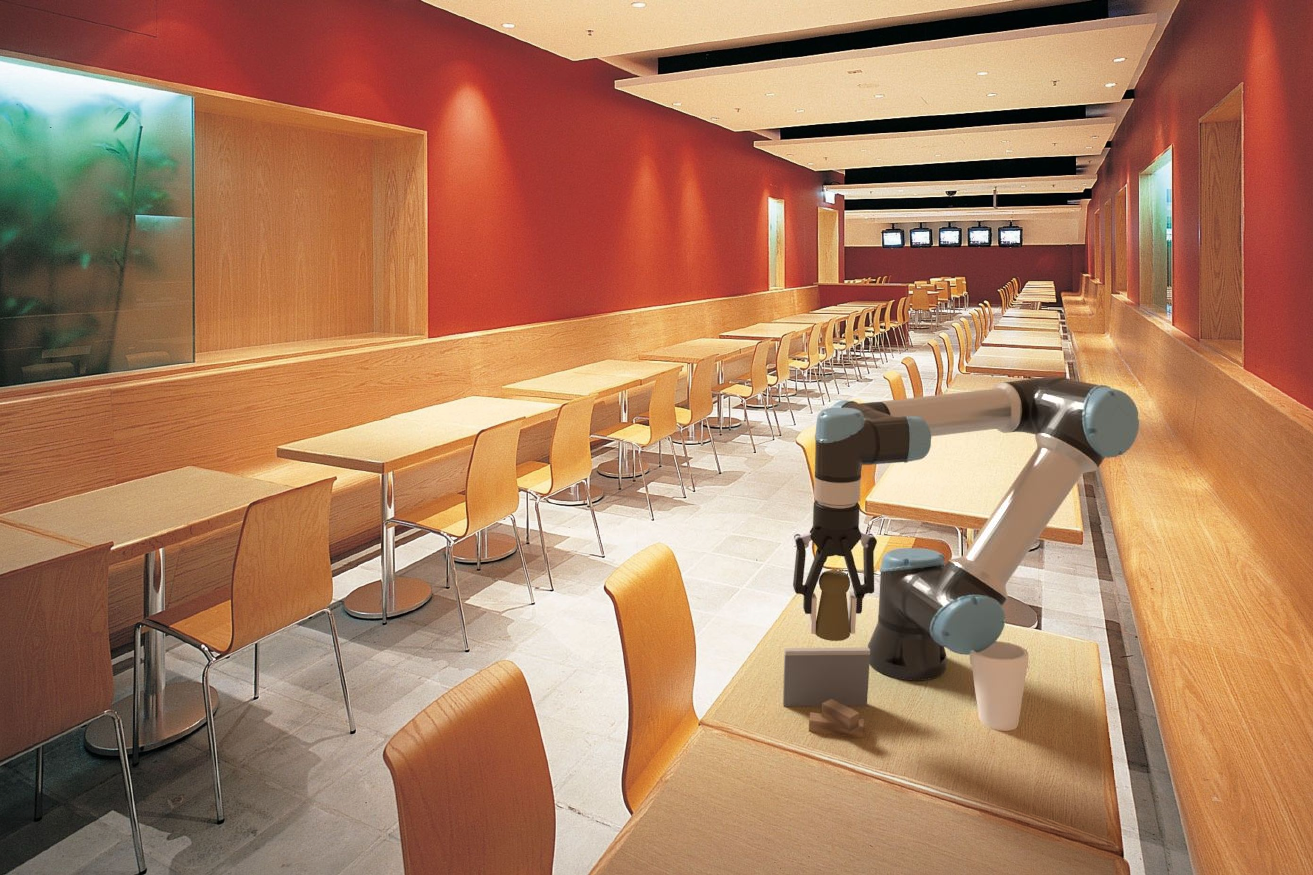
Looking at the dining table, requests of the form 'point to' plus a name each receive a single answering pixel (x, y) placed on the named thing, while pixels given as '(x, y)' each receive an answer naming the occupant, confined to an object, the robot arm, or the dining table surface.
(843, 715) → the offcut top
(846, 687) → the board
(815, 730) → the offcut low
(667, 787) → the dining table surface
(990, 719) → the foam cup
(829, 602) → the cork
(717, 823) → the dining table surface
